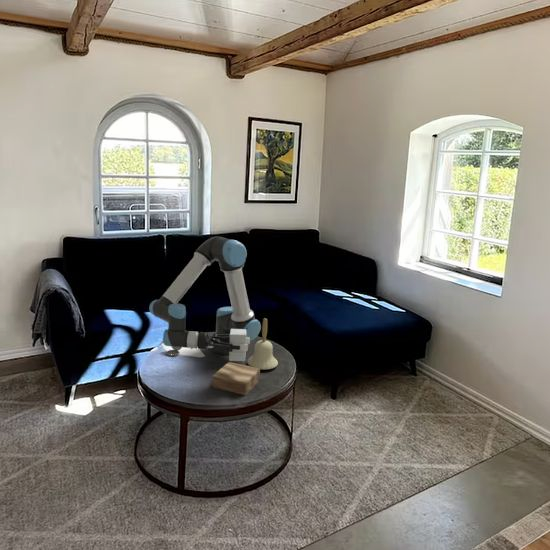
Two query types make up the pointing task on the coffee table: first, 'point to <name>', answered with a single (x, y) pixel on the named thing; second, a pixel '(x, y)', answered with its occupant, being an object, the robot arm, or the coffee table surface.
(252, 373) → the walnut stand
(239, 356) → the supplement box
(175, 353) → the pocket watch
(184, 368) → the coffee table surface
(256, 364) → the handbell
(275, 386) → the coffee table surface
